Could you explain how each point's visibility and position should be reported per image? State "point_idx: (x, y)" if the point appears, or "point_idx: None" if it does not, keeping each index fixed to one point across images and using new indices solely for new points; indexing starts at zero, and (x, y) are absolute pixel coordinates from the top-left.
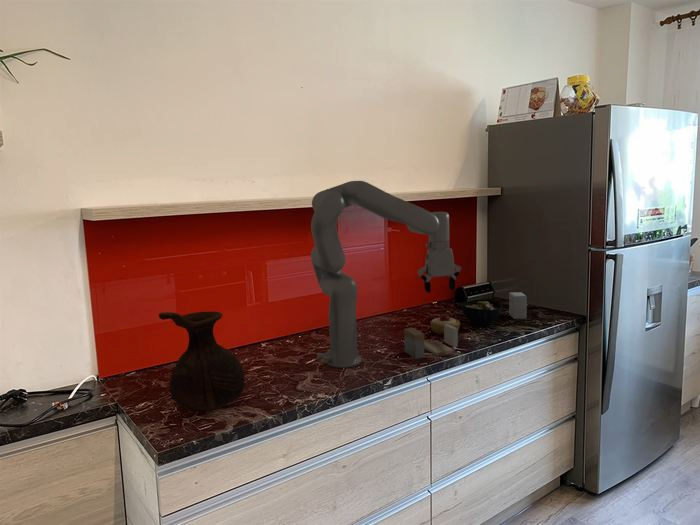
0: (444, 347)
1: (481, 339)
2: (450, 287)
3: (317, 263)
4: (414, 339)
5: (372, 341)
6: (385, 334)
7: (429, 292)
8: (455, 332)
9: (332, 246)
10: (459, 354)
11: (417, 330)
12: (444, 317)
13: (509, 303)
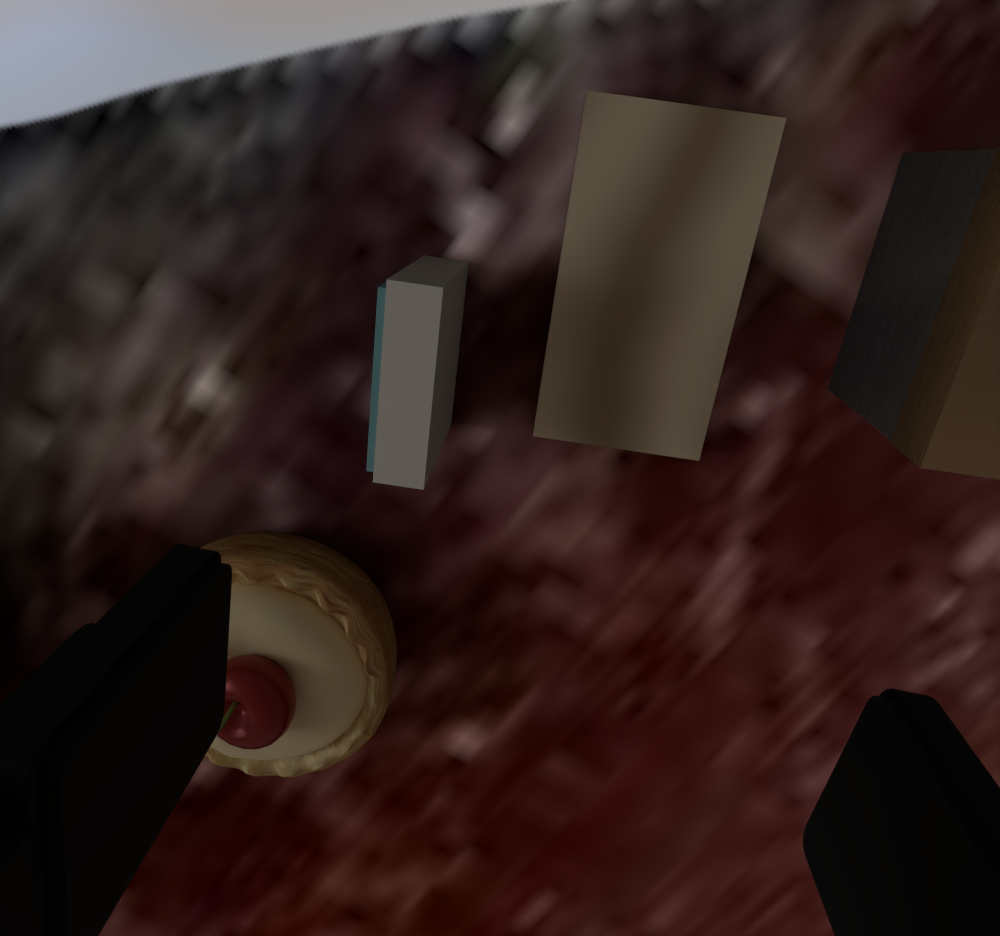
0: (611, 218)
1: (120, 297)
2: (205, 687)
3: None
4: None
5: None
6: (720, 806)
7: (909, 692)
8: (423, 278)
9: None
10: (563, 30)
11: (979, 340)
12: (265, 684)
13: None
